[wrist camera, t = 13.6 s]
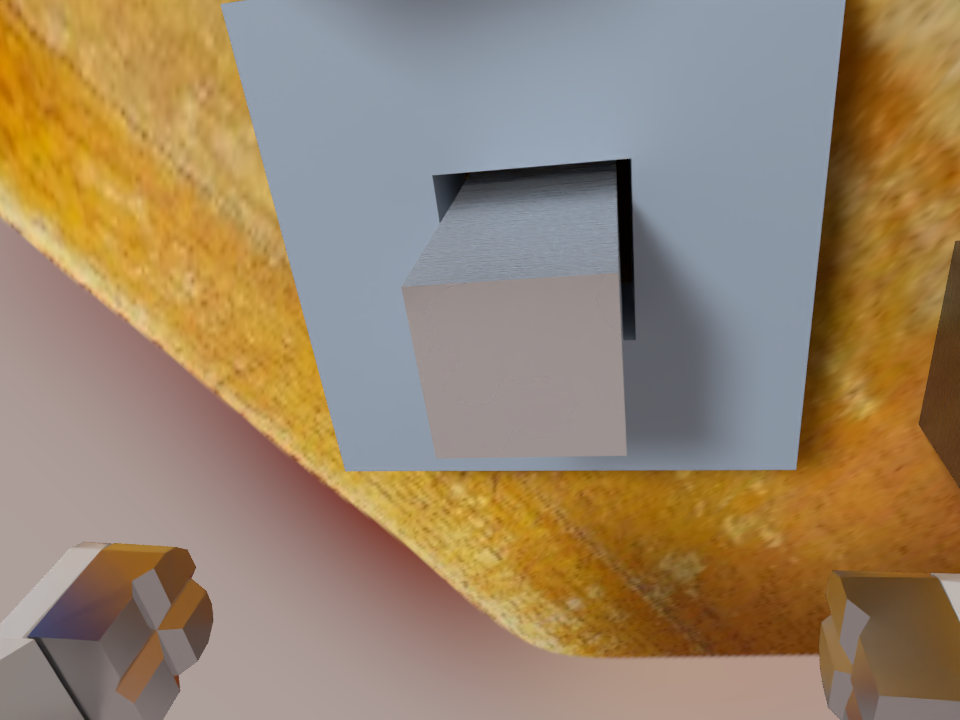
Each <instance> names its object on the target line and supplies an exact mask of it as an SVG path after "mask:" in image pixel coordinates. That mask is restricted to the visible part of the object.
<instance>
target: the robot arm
mask: <svg viewBox="0 0 960 720" xmlns="http://www.w3.org/2000/svg"><path fill="white" fill-rule="evenodd" d="M195 569H196V566H195V564H194V562H193V560H192V558H191V556H190V554H189V552H188V550H186V549H182V548H178V547H167V546H151V545H136V544H121V543H114V544H111V543H95V542H82V543H80V544H78V545H76V546H74V547H71V548H70V549H69V550H68V551H67V552H66V553H65V554H64V555H63V556H62V557H61V559H60V560H59V561H58V562H57V563H56V564H55V565H54V566H53V567H52V568H51V570H50V571H49V572H48V573H47V574H46V575H45V576H44V577H43V578H42V579H41V580H40V581H39V582H38V584H37V585H36V586H35V587H34V588H33V589H32V590H31V591H30V592H29V593H28V595H27V596H26V597H25V598H24V599H23V600H22V601H21V602H20V603H19V604H18V605H17V606H16V608H15V609H14V610H13V611H12V612H11V613H10V614H9V615H8V616H7V617H6V619H5V620H4V621H3V622H2V623H1V624H0V720H163V719H164V717H165V715H166V714H167V712H168V710H169V709H170V707H171V705H172V704H173V702H174V700H175V699H176V697H177V695H178V694H179V692H180V683H179V675H180V674H181V673H182V672H184V671H185V670H186V669H188V668H189V667H190V666H192V665H193V664H194V663H196V662H197V661H198V660H199V658H200V656H201V654H202V653H203V651H204V649H205V647H206V645H207V644H208V641H209V637H210V632H211V628H212V624H213V611H212V603H211V601H210V599H209V596H208V594H207V591H206V590H205V589H203V588H202V587H201V586H199V584H197V583H196V582H195V581H194V580H192V579H191V578H192V576H193V574H194V571H195ZM825 595H826V598H827V602H828V605H829V609H830V612H831V615H830V616H829V617H827V618H826V619H825V620H823V621H822V622H821V630H820V639H819V655H820V670H821V676H822V682H823V688H824V692H825V696H826V700H827V704H828V708H829V709H830V710H831V711H832V712H833V713H834V714H835V715H836V716H837V717H838V718H839V719H840V720H960V574H947V573H931V574H928V573H912V572H875V571H838V570H832V572H831V574H830V576H829V578H828V582H827V588H826V594H825Z"/></svg>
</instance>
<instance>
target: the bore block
mask: <svg viewBox="0 0 960 720" xmlns="http://www.w3.org/2000/svg"><path fill="white" fill-rule="evenodd" d="M845 1H846V0H244V1H237V2H231V3H224V4H221V8H222V12H223V15H224V19H225V23H226V26H227V30H228V34H229V38H230V41H231V45H232V49H233V53H234V56H235V60H236V64H237V68H238V71H239V75H240V79H241V83H242V86H243V90H244V94H245V97H246V101H247V105H248V109H249V112H250V116H251V120H252V124H253V127H254V131H255V135H256V139H257V142H258V146H259V150H260V154H261V157H262V161H263V165H264V168H265V172H266V176H267V180H268V183H269V187H270V191H271V195H272V198H273V202H274V206H275V210H276V213H277V217H278V221H279V225H280V228H281V232H282V236H283V239H284V243H285V247H286V251H287V254H288V258H289V262H290V266H291V269H292V273H293V277H294V281H295V284H296V288H297V292H298V296H299V299H300V303H301V307H302V310H303V314H304V318H305V322H306V325H307V329H308V333H309V337H310V340H311V344H312V348H313V352H314V355H315V359H316V363H317V367H318V370H319V374H320V378H321V381H322V385H323V389H324V393H325V396H326V400H327V404H328V408H329V411H330V415H331V419H332V423H333V426H334V430H335V434H336V438H337V441H338V445H339V449H340V452H341V456H342V460H343V464H344V467H345V471H572V470H796V466H797V457H798V447H799V438H800V428H801V419H802V409H803V400H804V390H805V381H806V371H807V362H808V352H809V343H810V333H811V324H812V314H813V305H814V295H815V286H816V276H817V267H818V257H819V248H820V238H821V229H822V219H823V210H824V200H825V191H826V181H827V172H828V163H829V153H830V144H831V134H832V125H833V115H834V106H835V96H836V87H837V77H838V68H839V58H840V49H841V39H842V30H843V20H844V11H845ZM619 159H629V178H630V216H631V254H632V282H625V283H622V314H623V346H624V378H625V410H626V442H627V456H580V457H512V458H444V459H436V456H435V451H434V446H433V441H432V436H431V431H430V426H429V421H428V416H427V412H426V407H425V402H424V397H423V392H422V387H421V382H420V377H419V372H418V367H417V362H416V357H415V352H414V348H413V343H412V338H411V333H410V328H409V323H408V318H407V313H406V308H405V303H404V298H403V293H402V288H401V286H402V285H403V283H404V281H405V280H406V278H407V277H408V275H409V273H410V272H411V270H412V268H413V267H414V265H415V263H416V262H417V260H418V259H419V257H420V255H421V254H422V252H423V250H424V249H425V247H426V245H427V244H428V242H429V240H430V239H431V237H432V236H433V234H434V232H435V231H436V229H437V227H438V226H439V224H440V222H441V221H442V219H443V217H444V216H445V214H446V213H447V211H448V209H449V208H450V206H451V204H452V203H453V201H454V199H455V198H456V196H457V194H458V193H459V191H460V190H461V188H462V186H463V185H464V183H465V181H466V180H465V173H466V172H478V171H490V170H501V169H513V168H525V167H537V166H548V165H560V164H572V163H583V162H595V161H607V160H619Z"/></svg>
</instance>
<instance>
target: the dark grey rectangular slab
mask: <svg viewBox="0 0 960 720" xmlns="http://www.w3.org/2000/svg"><path fill="white" fill-rule="evenodd" d="M919 425H920V427H921V429H922V430H923V432H924V433H925V435H926V436H927V438H928V439H929V441H930V443H931V444H932V446H933V447H934V449H935V450H936V452H937V453H938V455H939V457H940V458H941V460H942V461H943V463H944V464H945V466H946V467H947V469H948V471H949V472H950V474H951V475H952V477H953V478H954V480H955V481H956V483H957V485H958V486H959V488H960V241H955V245H954V250H953V255H952V260H951V265H950V270H949V275H948V280H947V285H946V290H945V295H944V300H943V305H942V310H941V315H940V320H939V325H938V330H937V335H936V341H935V346H934V351H933V356H932V361H931V366H930V371H929V376H928V381H927V386H926V391H925V396H924V401H923V406H922V411H921V416H920V421H919Z"/></svg>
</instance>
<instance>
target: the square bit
mask: <svg viewBox="0 0 960 720" xmlns="http://www.w3.org/2000/svg"><path fill="white" fill-rule="evenodd" d="M401 288H402V293H403V298H404V303H405V308H406V313H407V318H408V323H409V328H410V333H411V338H412V343H413V348H414V352H415V357H416V362H417V367H418V372H419V377H420V382H421V387H422V392H423V397H424V402H425V407H426V412H427V416H428V421H429V426H430V431H431V436H432V441H433V446H434V451H435V456H436V459H444V458H512V457H580V456H627V442H626V410H625V378H624V346H623V314H622V282H621V255H620V233H619V211H618V189H617V166H616V160H607V161H595V162H583V163H572V164H560V165H548V166H537V167H525V168H513V169H501V170H490V171H478V172H471V173H470V175H469V176H468V178H467V180H466V181H465V183H464V185H463V186H462V188H461V190H460V191H459V193H458V194H457V196H456V198H455V199H454V201H453V203H452V204H451V206H450V208H449V209H448V211H447V213H446V214H445V216H444V217H443V219H442V221H441V222H440V224H439V226H438V227H437V229H436V231H435V232H434V234H433V236H432V237H431V239H430V240H429V242H428V244H427V245H426V247H425V249H424V250H423V252H422V254H421V255H420V257H419V259H418V260H417V262H416V263H415V265H414V267H413V268H412V270H411V272H410V273H409V275H408V277H407V278H406V280H405V281H404V283H403V285H402V286H401Z"/></svg>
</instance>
